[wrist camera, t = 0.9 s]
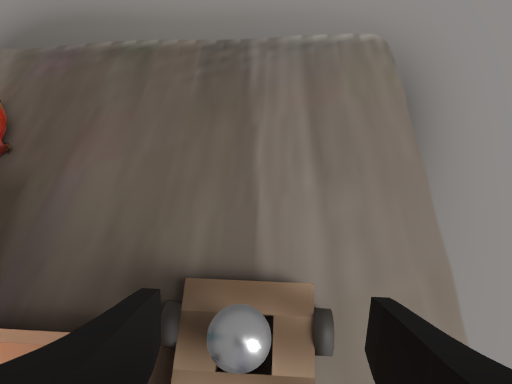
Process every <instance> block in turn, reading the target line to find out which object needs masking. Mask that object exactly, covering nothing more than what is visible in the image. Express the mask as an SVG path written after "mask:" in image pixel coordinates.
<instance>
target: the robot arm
mask: <svg viewBox="0 0 512 384" xmlns="http://www.w3.org/2000/svg"><path fill="white" fill-rule="evenodd" d="M160 345H161V311H160V289H146V288H142V289H140V290H138V291H136V292H135V293H133V294H132V295H130V296H129V297H127V298H126V299H124V300H123V301H121V302H120V303H118V304H117V305H115V306H114V307H112V308H110V309H109V310H107V311H106V312H104V313H103V314H101V315H100V316H98V317H96V318H95V319H93V320H91V321H90V322H88V323H86V324H85V325H83V326H81V327H79V328H78V329H76V330H74V331H73V332H71V333H69V334H67V335H65V336H63V337H61V338H59V339H57V340H55V341H53V342H51V343H49V344H47V345H45V346H43V347H41V348H38V349H36V350H34V351H31V352H29V353H27V354H24V355H22V356H19V357H17V358H14V359H12V360H9V361H7V362H4V363H2V364H0V384H147V383H148V381H149V378H150V376H151V374H152V371H153V368H154V365H155V362H156V359H157V355H158V352H159V348H160ZM365 352H366V356H367V359H368V363H369V366H370V369H371V373H372V376H373V379H374V381H375V383H376V384H512V369H510V368H508V367H506V366H504V365H502V364H500V363H498V362H496V361H494V360H492V359H490V358H488V357H486V356H484V355H482V354H480V353H478V352H476V351H474V350H473V349H471V348H469V347H468V346H466V345H464V344H462V343H461V342H459V341H457V340H456V339H454V338H452V337H451V336H449V335H447V334H446V333H444V332H443V331H441V330H439V329H438V328H436V327H435V326H433V325H432V324H430V323H429V322H427V321H425V320H424V319H422V318H421V317H419V316H418V315H416V314H415V313H413V312H412V311H410V310H409V309H407V308H406V307H404V306H403V305H401V304H400V303H398V302H396V301H395V300H393V299H391V298H382V297H371V305H370V312H369V320H368V328H367V336H366V344H365Z"/></svg>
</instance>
